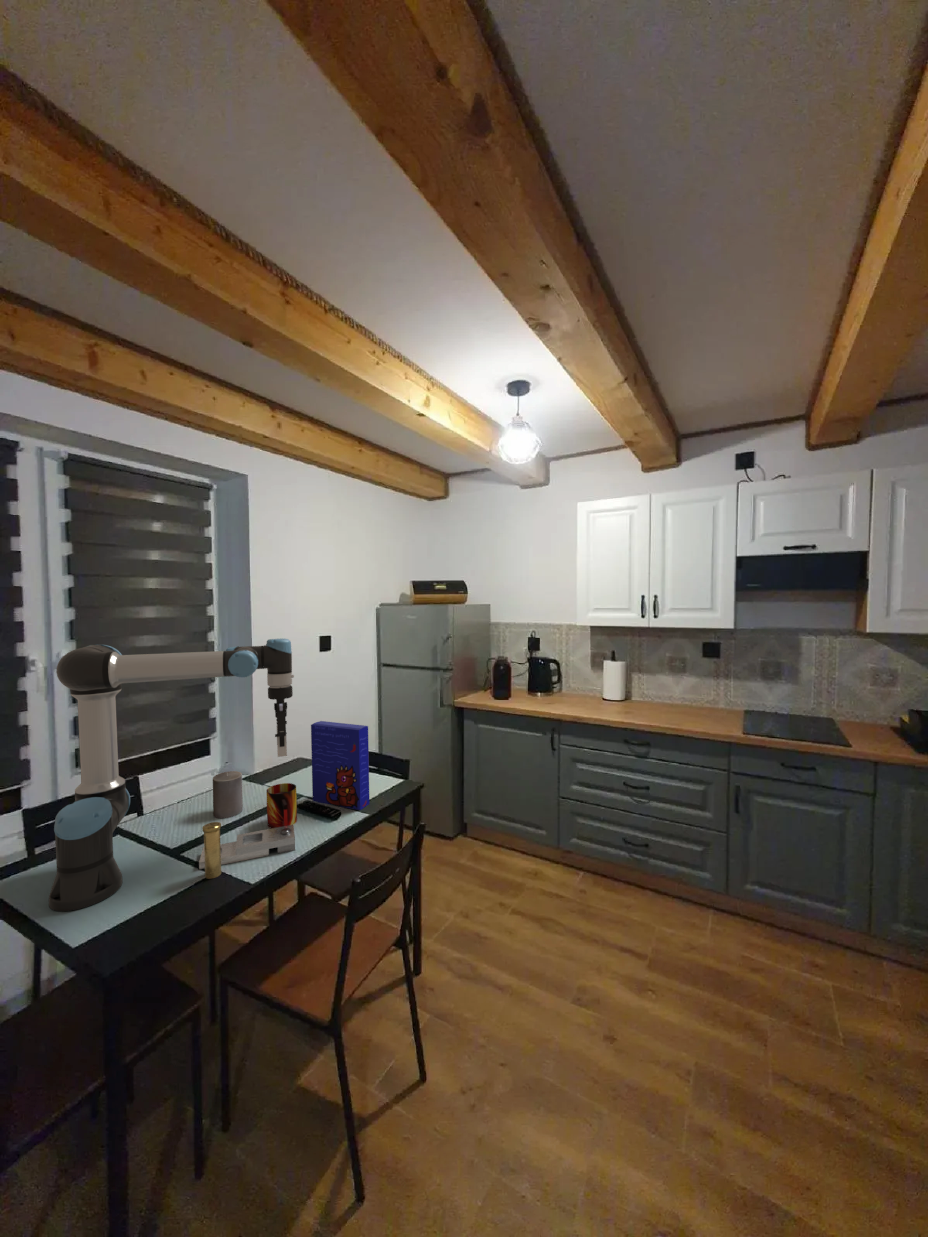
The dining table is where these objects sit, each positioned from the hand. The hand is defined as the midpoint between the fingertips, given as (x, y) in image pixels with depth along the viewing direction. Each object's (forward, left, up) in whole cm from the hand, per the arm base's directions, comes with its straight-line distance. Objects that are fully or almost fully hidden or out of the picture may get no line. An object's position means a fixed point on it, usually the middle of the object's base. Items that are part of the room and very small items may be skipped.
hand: (281, 750), depth 154 cm
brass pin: (-19, -17, -28) cm, 38 cm away
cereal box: (+21, +17, -28) cm, 39 cm away
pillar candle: (-18, +25, -28) cm, 42 cm away
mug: (+1, +7, -28) cm, 29 cm away
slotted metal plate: (-9, -8, -28) cm, 30 cm away
